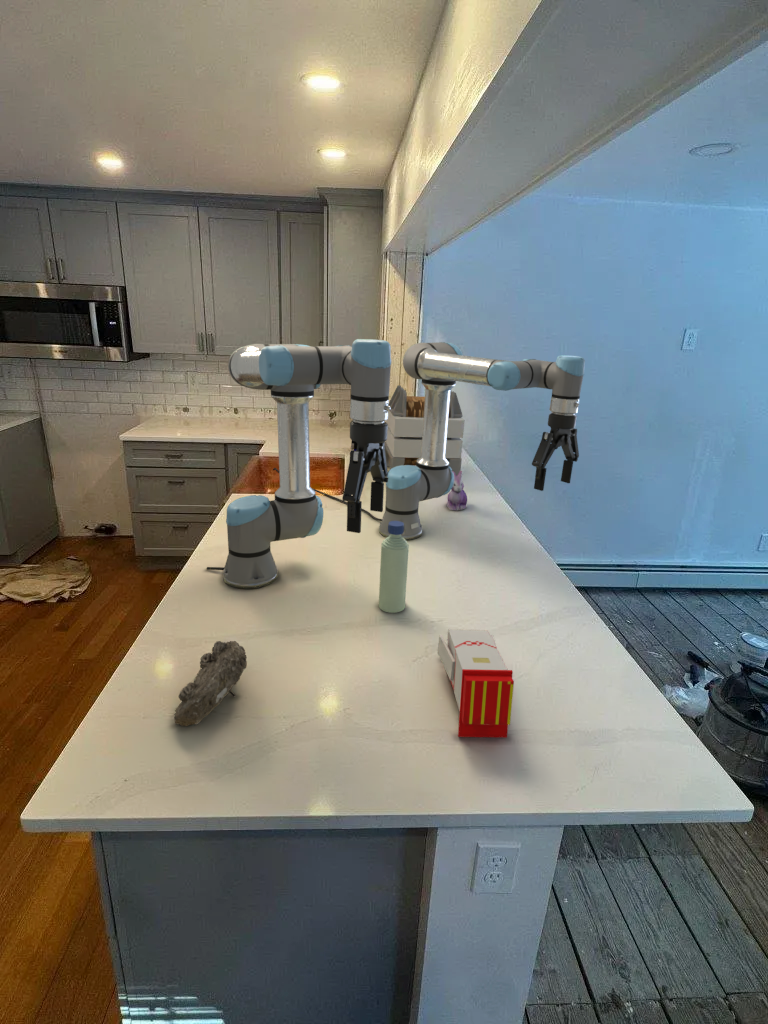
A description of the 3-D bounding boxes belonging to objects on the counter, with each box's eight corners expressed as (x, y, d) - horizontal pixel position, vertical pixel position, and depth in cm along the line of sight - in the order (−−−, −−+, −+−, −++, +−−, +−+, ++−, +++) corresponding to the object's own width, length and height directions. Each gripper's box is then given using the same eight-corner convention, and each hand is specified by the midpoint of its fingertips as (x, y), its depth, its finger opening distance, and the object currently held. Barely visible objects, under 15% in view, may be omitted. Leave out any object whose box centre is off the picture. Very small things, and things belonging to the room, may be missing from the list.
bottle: (408, 602, 153) (413, 522, 146) (400, 614, 147) (405, 531, 139) (383, 597, 155) (387, 518, 148) (375, 609, 149) (378, 527, 141)
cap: (405, 530, 145) (406, 522, 144) (401, 536, 142) (401, 527, 141) (390, 528, 146) (391, 519, 146) (385, 533, 143) (386, 524, 142)
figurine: (453, 512, 223) (457, 475, 218) (439, 504, 231) (442, 469, 226) (473, 509, 227) (477, 473, 222) (459, 501, 236) (462, 467, 231)
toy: (488, 613, 130) (523, 677, 101) (484, 667, 133) (517, 744, 104) (435, 612, 130) (455, 676, 101) (432, 666, 133) (451, 743, 103)
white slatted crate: (382, 463, 289) (386, 382, 275) (445, 464, 293) (451, 384, 279) (390, 482, 257) (394, 392, 243) (460, 483, 261) (468, 394, 247)
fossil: (197, 643, 123) (246, 611, 118) (228, 672, 126) (277, 642, 121) (151, 720, 104) (207, 686, 99) (188, 752, 107) (245, 721, 102)
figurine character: (362, 456, 306) (363, 447, 319) (363, 443, 302) (363, 434, 316) (350, 456, 306) (351, 446, 319) (350, 442, 302) (351, 433, 316)
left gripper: (364, 434, 100) (361, 544, 107) (405, 413, 123) (400, 505, 130) (325, 429, 102) (324, 538, 110) (372, 409, 125) (369, 500, 132)
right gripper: (548, 419, 148) (537, 496, 155) (598, 411, 163) (586, 482, 171) (525, 414, 153) (515, 489, 160) (575, 407, 169) (564, 476, 176)
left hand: (365, 520), depth 120 cm, fingers open, 13 cm apart
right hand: (552, 485), depth 166 cm, fingers open, 13 cm apart
